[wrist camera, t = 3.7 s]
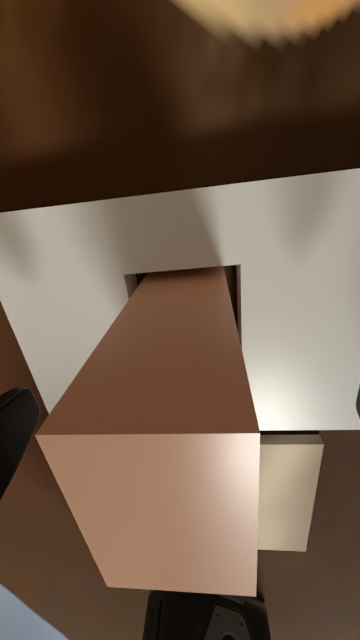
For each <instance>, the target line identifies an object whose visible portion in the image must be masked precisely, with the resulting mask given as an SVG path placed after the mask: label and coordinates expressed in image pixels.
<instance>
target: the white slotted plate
mask: <svg viewBox="0 0 360 640" xmlns="http://www.w3.org/2000/svg"><path fill="white" fill-rule="evenodd" d="M228 265H236V272H237V320H238V335H239V340H240V344H241V349H242V353H243V358H244V362H245V367H246V371H247V376H248V380H249V385H250V389H251V394H252V399H253V403H254V408H255V412H256V417H257V421H258V426H259V430H260V431H270V430H360V418H359V416H358V413H357V410H356V399H357V394H358V390H359V385H360V168H357V169H349V170H341V171H333V172H325V173H317V174H309V175H301V176H293V177H285V178H276V179H268V180H260V181H252V182H244V183H236V184H228V185H220V186H212V187H204V188H196V189H188V190H180V191H172V192H163V193H155V194H147V195H139V196H131V197H123V198H115V199H107V200H99V201H91V202H83V203H75V204H67V205H59V206H51V207H42V208H34V209H26V210H18V211H10V212H2V213H0V301H1V303H2V306H3V308H4V310H5V313H6V315H7V317H8V320H9V322H10V324H11V327H12V329H13V331H14V334H15V336H16V338H17V341H18V343H19V345H20V348H21V350H22V352H23V355H24V357H25V359H26V362H27V364H28V366H29V369H30V371H31V373H32V376H33V378H34V380H35V383H36V385H37V387H38V390H39V392H40V394H41V397H42V399H43V401H44V404H45V406H46V408H47V411H48V413H49V414H50V412H51V411H52V410H53V408H54V407H55V405H56V404H57V402H58V401H59V399H60V398H61V397H62V395H63V394H64V392H65V391H66V389H67V388H68V387H69V385H70V384H71V382H72V381H73V379H74V378H75V376H76V375H77V374H78V372H79V371H80V369H81V368H82V366H83V365H84V364H85V362H86V361H87V359H88V358H89V356H90V355H91V353H92V352H93V351H94V349H95V348H96V346H97V345H98V343H99V342H100V341H101V339H102V338H103V336H104V335H105V333H106V332H107V330H108V329H109V328H110V326H111V325H112V323H113V322H114V320H115V319H116V317H117V316H118V315H119V313H120V312H121V310H122V309H123V307H124V306H125V305H126V303H127V302H128V300H129V299H130V297H131V296H132V294H133V293H134V292H135V290H136V289H137V287H138V283H137V277H136V273H147V272H158V271H170V270H181V269H193V268H205V267H216V266H228Z"/></svg>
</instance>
